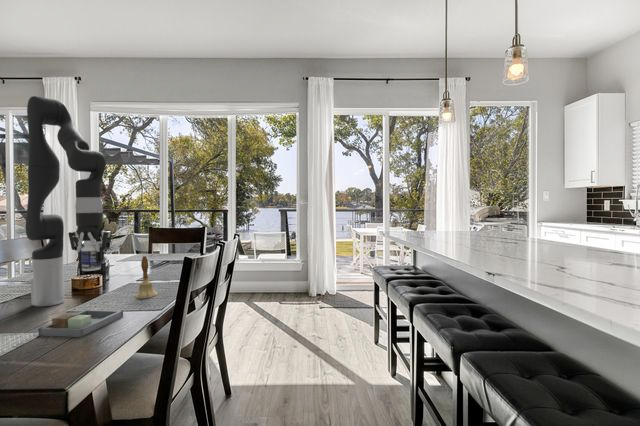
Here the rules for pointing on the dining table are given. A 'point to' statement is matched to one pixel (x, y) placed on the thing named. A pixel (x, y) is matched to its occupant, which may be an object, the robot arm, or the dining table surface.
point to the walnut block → (61, 321)
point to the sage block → (79, 321)
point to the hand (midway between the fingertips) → (91, 262)
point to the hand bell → (145, 283)
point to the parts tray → (97, 321)
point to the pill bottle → (89, 257)
